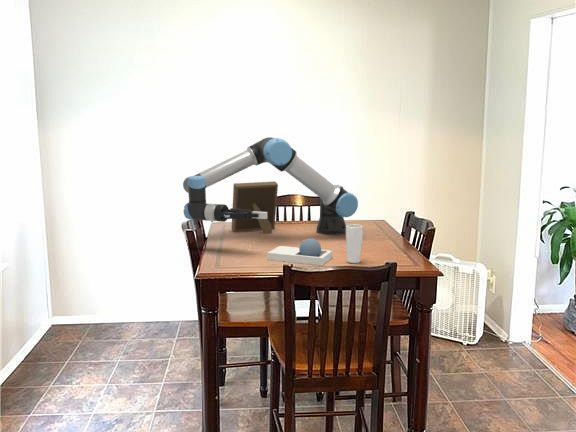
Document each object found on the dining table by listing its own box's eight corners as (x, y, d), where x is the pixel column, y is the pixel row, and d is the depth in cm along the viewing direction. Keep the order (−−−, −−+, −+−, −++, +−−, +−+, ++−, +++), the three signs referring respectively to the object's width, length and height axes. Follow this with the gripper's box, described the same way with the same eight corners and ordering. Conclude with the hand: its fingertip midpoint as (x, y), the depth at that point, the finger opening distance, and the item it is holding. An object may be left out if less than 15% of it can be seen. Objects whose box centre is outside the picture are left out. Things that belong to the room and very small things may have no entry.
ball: (310, 236, 246) (315, 256, 247) (293, 241, 242) (298, 262, 242) (322, 235, 238) (327, 257, 239) (304, 241, 234) (309, 263, 235)
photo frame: (231, 230, 299) (230, 181, 294) (271, 227, 306) (271, 179, 301) (239, 236, 285) (238, 186, 280) (281, 233, 293) (281, 183, 288)
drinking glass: (344, 260, 241) (344, 224, 238) (360, 259, 241) (360, 224, 239) (347, 264, 234) (347, 227, 231) (363, 263, 235) (364, 227, 232)
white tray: (267, 259, 242) (267, 252, 241) (279, 252, 254) (279, 245, 253) (322, 265, 233) (322, 258, 232) (332, 257, 244) (332, 250, 244)
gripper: (224, 218, 261) (273, 221, 252) (210, 224, 249) (260, 227, 240) (224, 201, 260) (272, 204, 251) (209, 206, 248) (259, 209, 239)
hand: (266, 215), depth 245 cm, fingers closed
